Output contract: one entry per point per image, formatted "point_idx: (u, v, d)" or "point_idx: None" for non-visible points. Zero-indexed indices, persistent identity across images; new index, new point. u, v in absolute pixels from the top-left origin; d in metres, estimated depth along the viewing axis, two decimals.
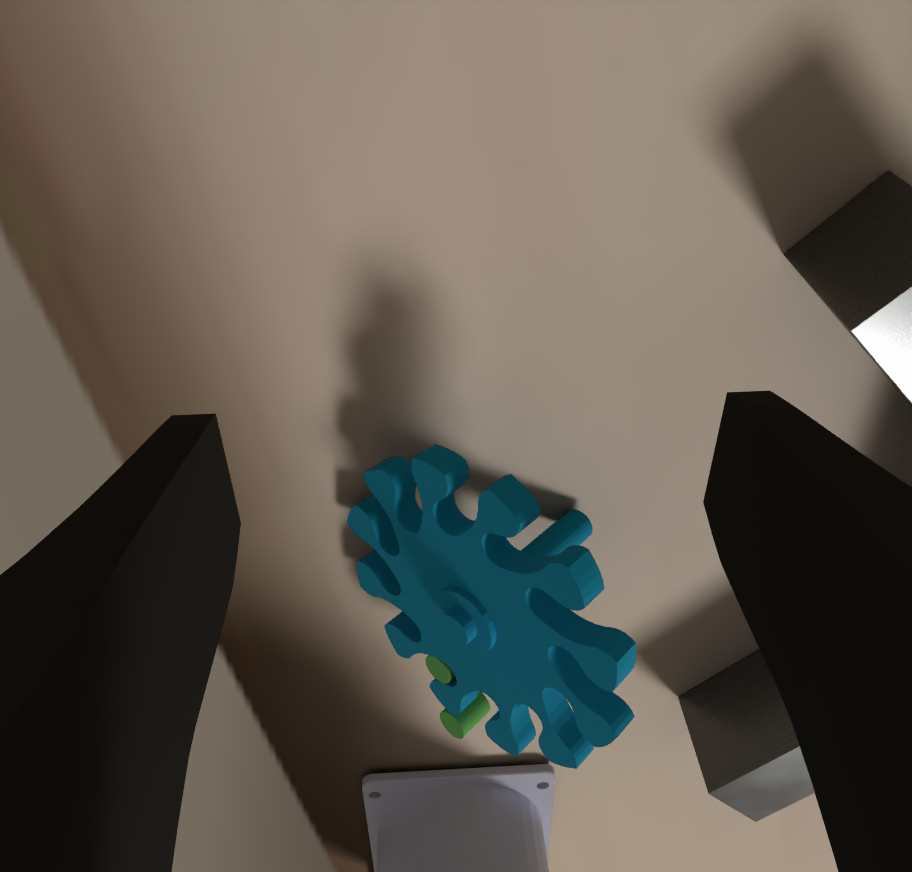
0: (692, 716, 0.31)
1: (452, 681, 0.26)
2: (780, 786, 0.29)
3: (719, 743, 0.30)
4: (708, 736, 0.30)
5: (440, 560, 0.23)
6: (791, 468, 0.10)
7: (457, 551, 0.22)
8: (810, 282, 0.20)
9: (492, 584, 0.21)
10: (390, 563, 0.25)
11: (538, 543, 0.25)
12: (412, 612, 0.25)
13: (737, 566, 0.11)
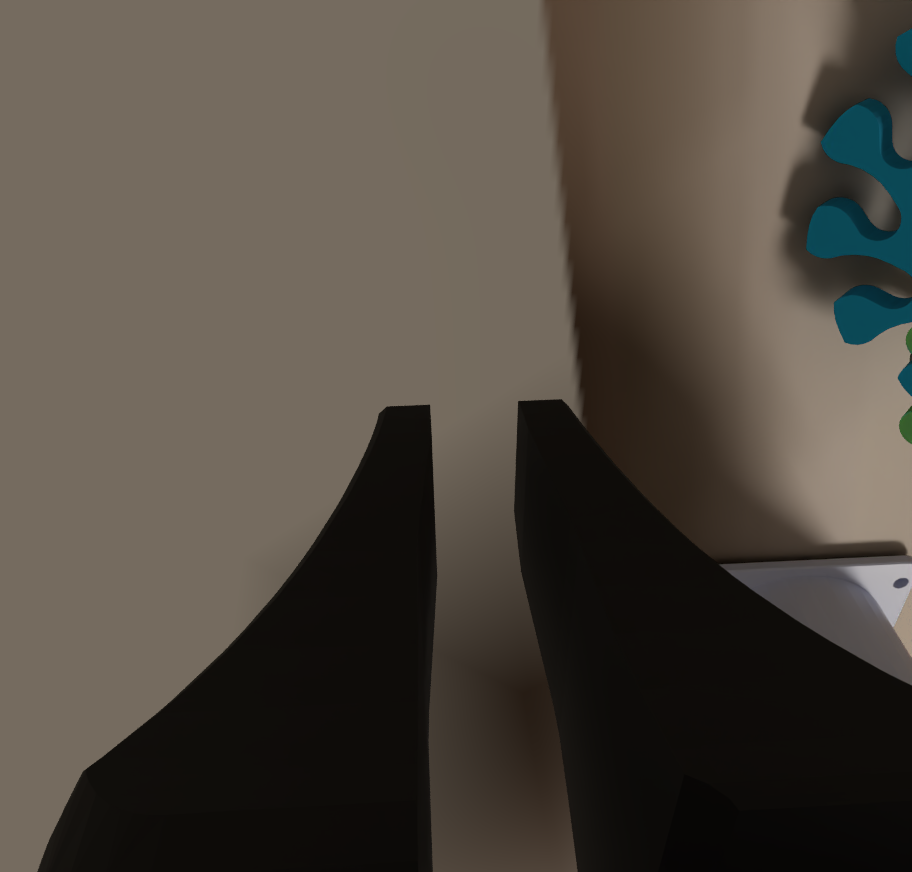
0: None
1: None
2: None
3: None
4: None
5: None
6: (545, 479, 0.10)
7: None
8: None
9: None
10: (894, 185, 0.19)
11: None
12: None
13: (528, 576, 0.11)
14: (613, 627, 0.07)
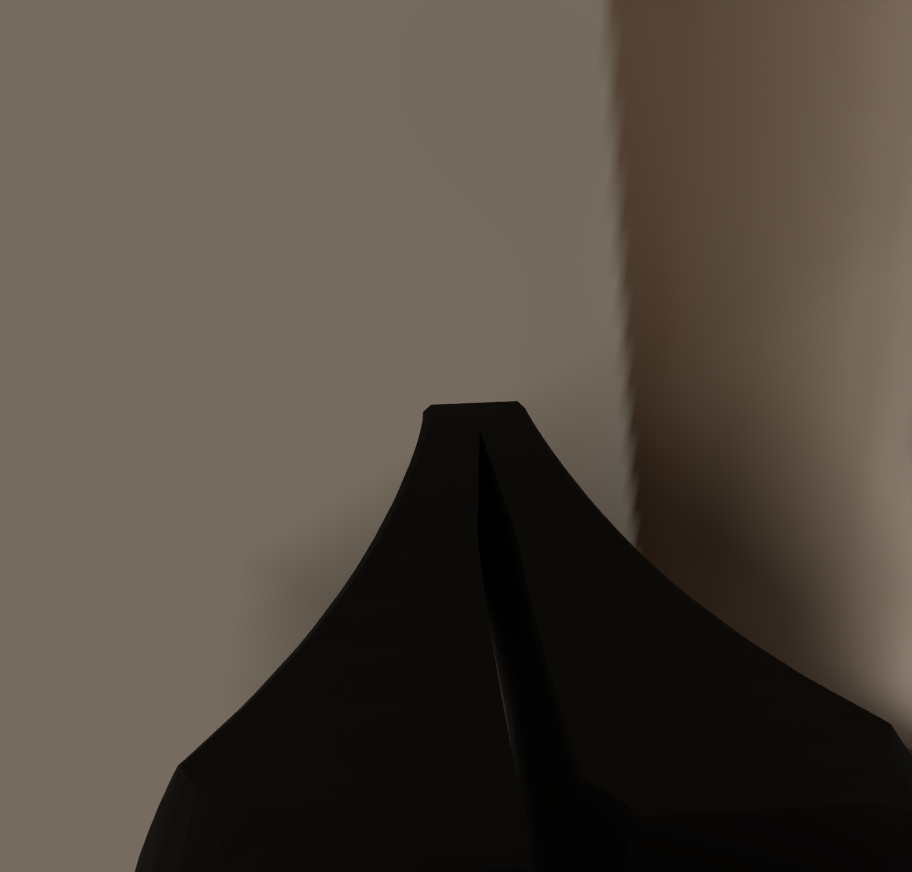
0: None
1: None
2: None
3: None
4: None
5: None
6: (493, 481, 0.10)
7: None
8: None
9: None
10: None
11: None
12: None
13: (484, 578, 0.11)
14: (542, 631, 0.07)
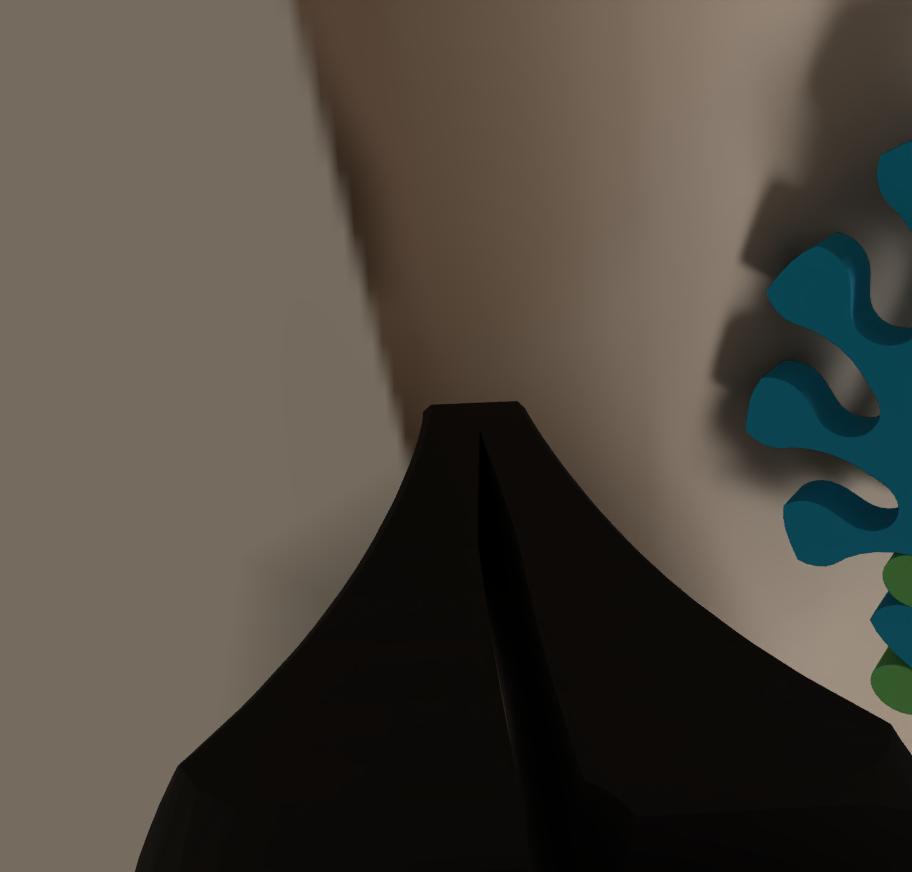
0: None
1: None
2: None
3: None
4: None
5: None
6: (493, 481, 0.10)
7: None
8: None
9: None
10: (870, 365, 0.13)
11: None
12: (894, 467, 0.13)
13: (484, 579, 0.11)
14: (541, 631, 0.07)
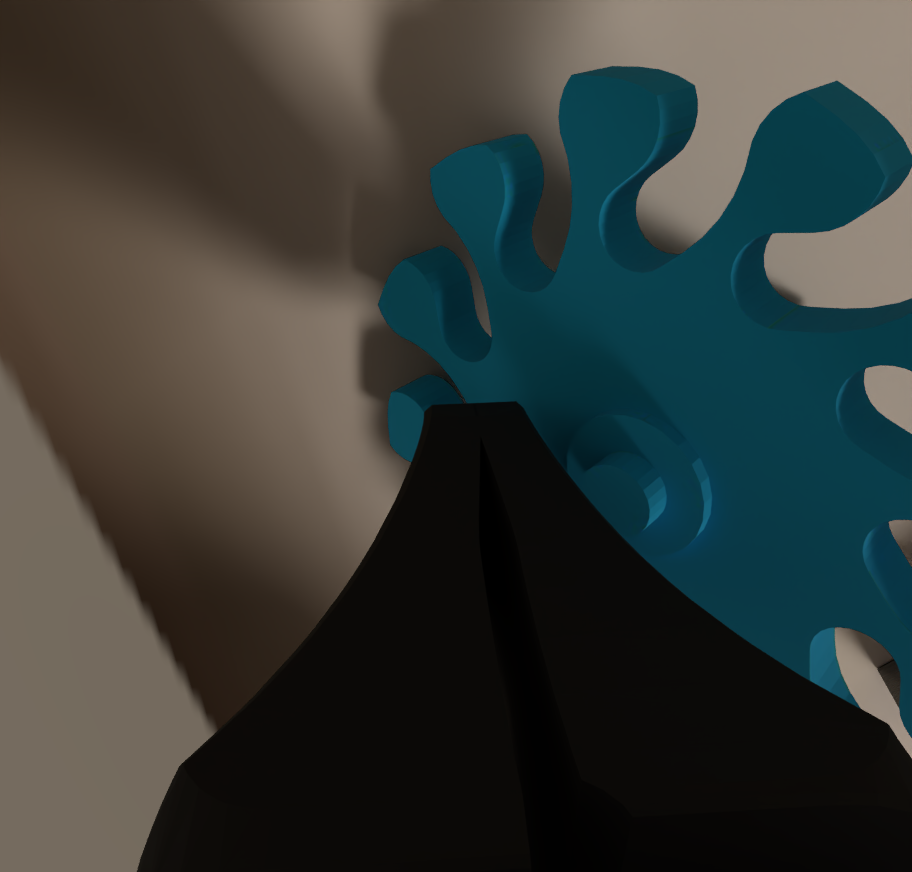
0: None
1: None
2: None
3: None
4: None
5: (593, 347, 0.10)
6: (492, 482, 0.10)
7: (648, 314, 0.10)
8: None
9: (734, 381, 0.09)
10: (463, 382, 0.12)
11: None
12: None
13: None
14: (539, 631, 0.07)
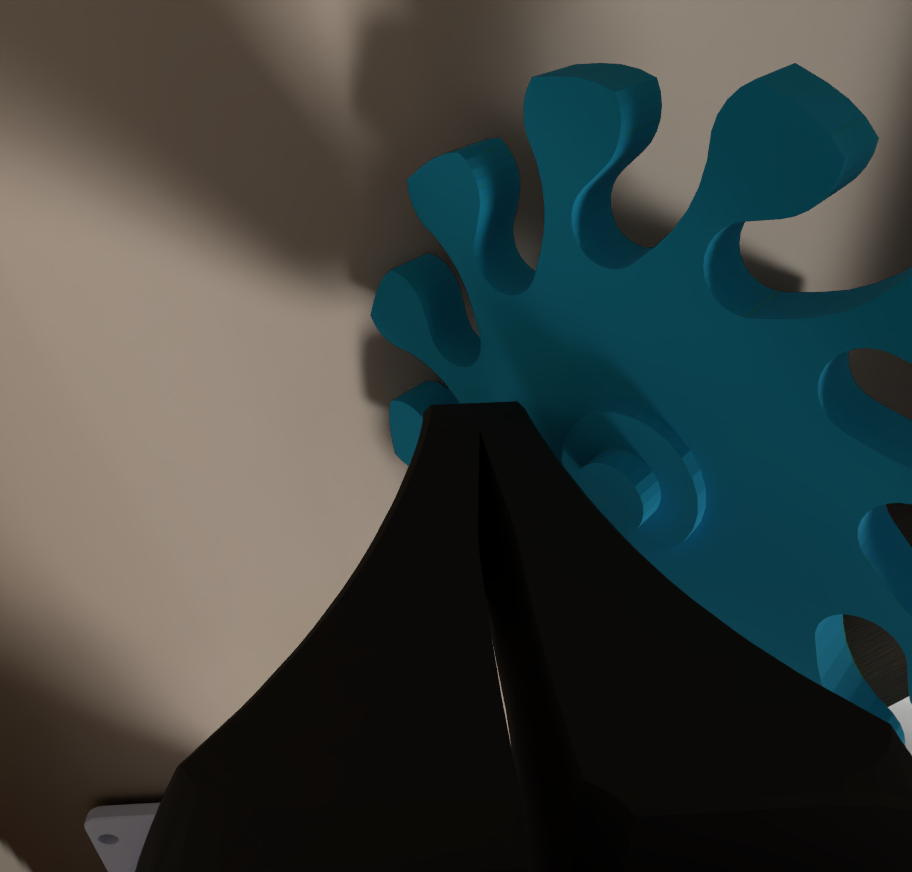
0: None
1: None
2: None
3: None
4: None
5: (578, 346, 0.10)
6: (493, 481, 0.10)
7: (628, 309, 0.10)
8: None
9: (717, 373, 0.09)
10: (458, 387, 0.12)
11: None
12: None
13: (484, 579, 0.11)
14: (541, 631, 0.07)
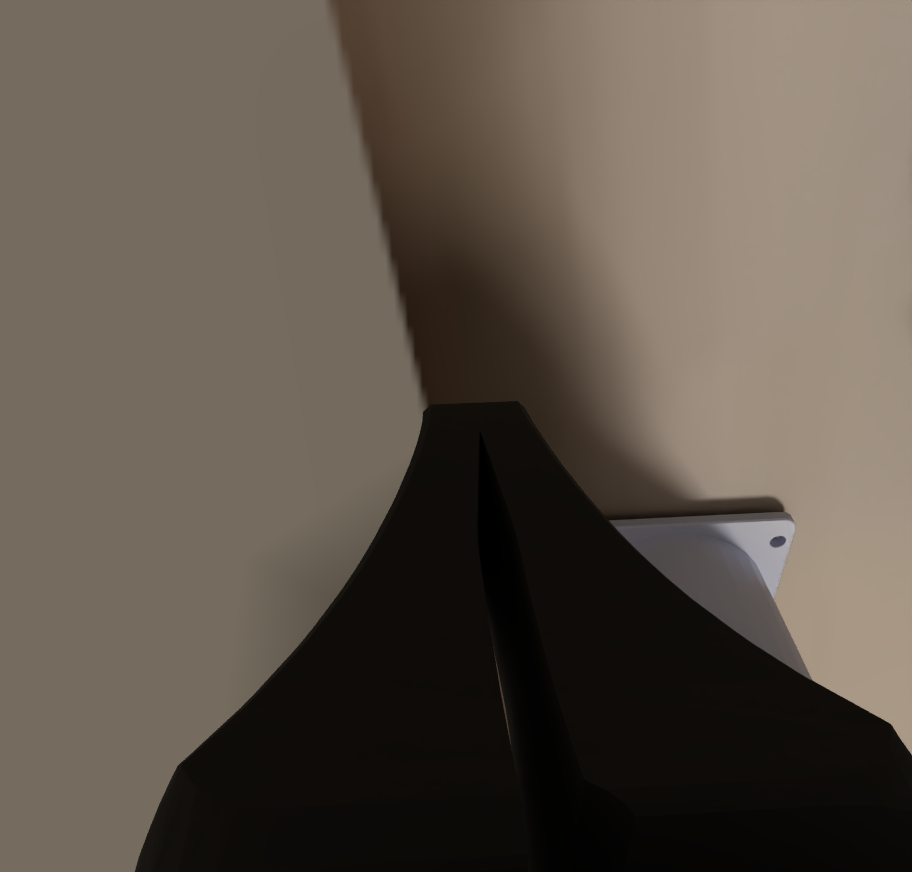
0: None
1: None
2: None
3: None
4: None
5: None
6: (494, 481, 0.10)
7: None
8: None
9: None
10: None
11: None
12: None
13: (484, 578, 0.11)
14: (541, 631, 0.07)
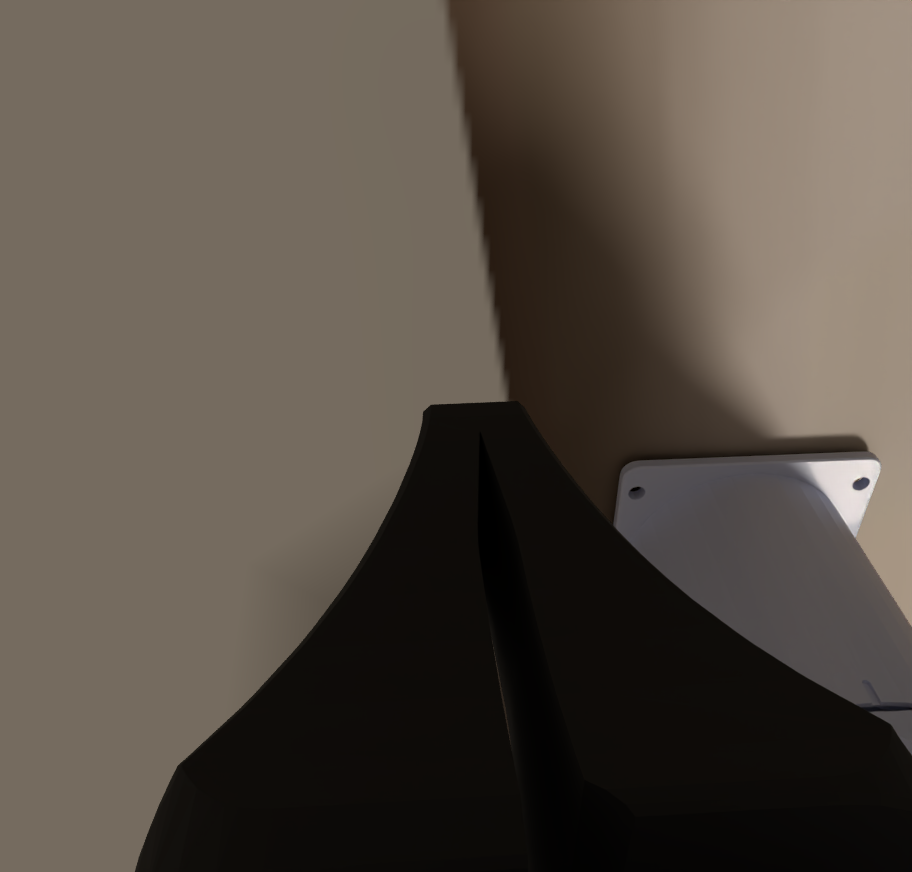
0: None
1: None
2: None
3: None
4: None
5: None
6: (493, 481, 0.10)
7: None
8: None
9: None
10: None
11: None
12: None
13: (484, 579, 0.11)
14: (541, 631, 0.07)
